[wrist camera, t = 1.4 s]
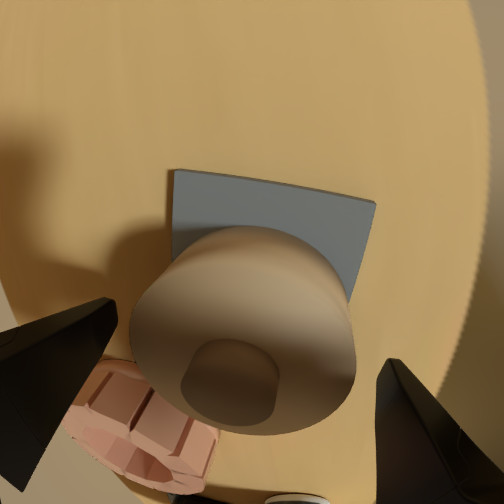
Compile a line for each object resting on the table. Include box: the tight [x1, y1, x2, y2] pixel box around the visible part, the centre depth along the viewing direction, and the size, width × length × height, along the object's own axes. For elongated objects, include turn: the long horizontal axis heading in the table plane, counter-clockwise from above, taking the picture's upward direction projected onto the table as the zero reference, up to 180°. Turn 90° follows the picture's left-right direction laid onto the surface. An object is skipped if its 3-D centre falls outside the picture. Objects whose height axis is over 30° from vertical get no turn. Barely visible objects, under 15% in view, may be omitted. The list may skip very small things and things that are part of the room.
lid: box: [129, 226, 356, 435], centre depth 9 cm, size 6×6×4 cm
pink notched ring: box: [61, 359, 221, 495], centre depth 13 cm, size 8×8×4 cm
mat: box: [172, 169, 376, 304], centre depth 10 cm, size 9×6×1 cm, turn 173°
